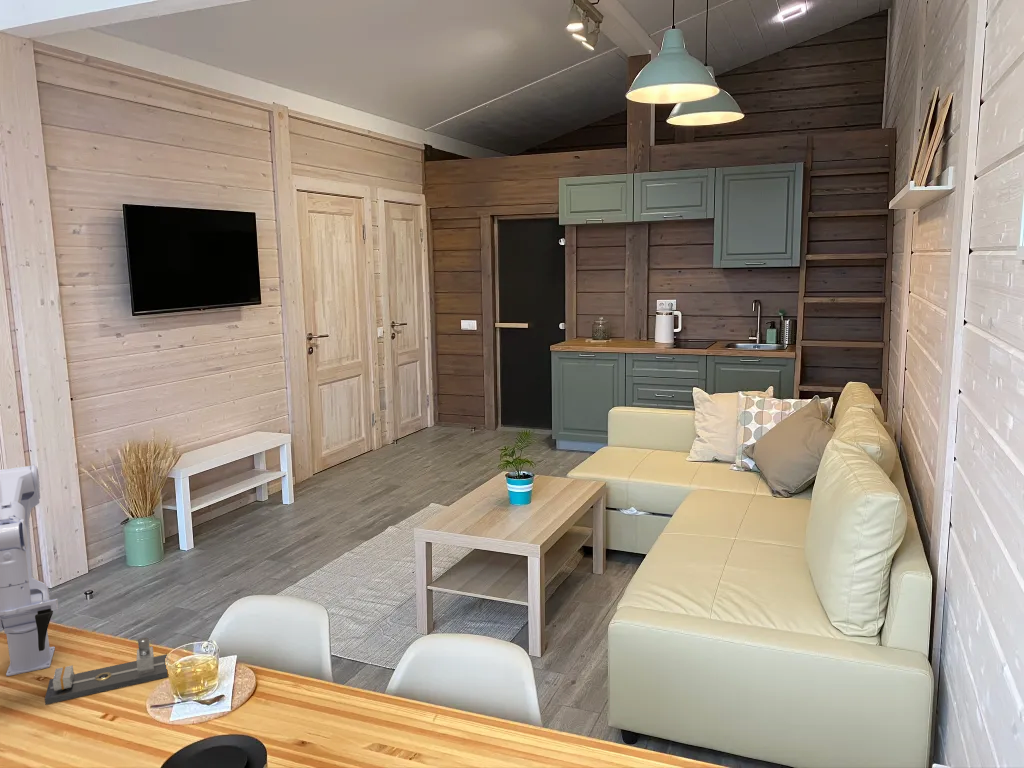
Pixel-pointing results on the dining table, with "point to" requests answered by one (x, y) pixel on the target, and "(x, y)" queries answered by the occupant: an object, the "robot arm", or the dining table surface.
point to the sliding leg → (63, 678)
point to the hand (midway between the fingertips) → (19, 654)
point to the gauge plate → (113, 676)
